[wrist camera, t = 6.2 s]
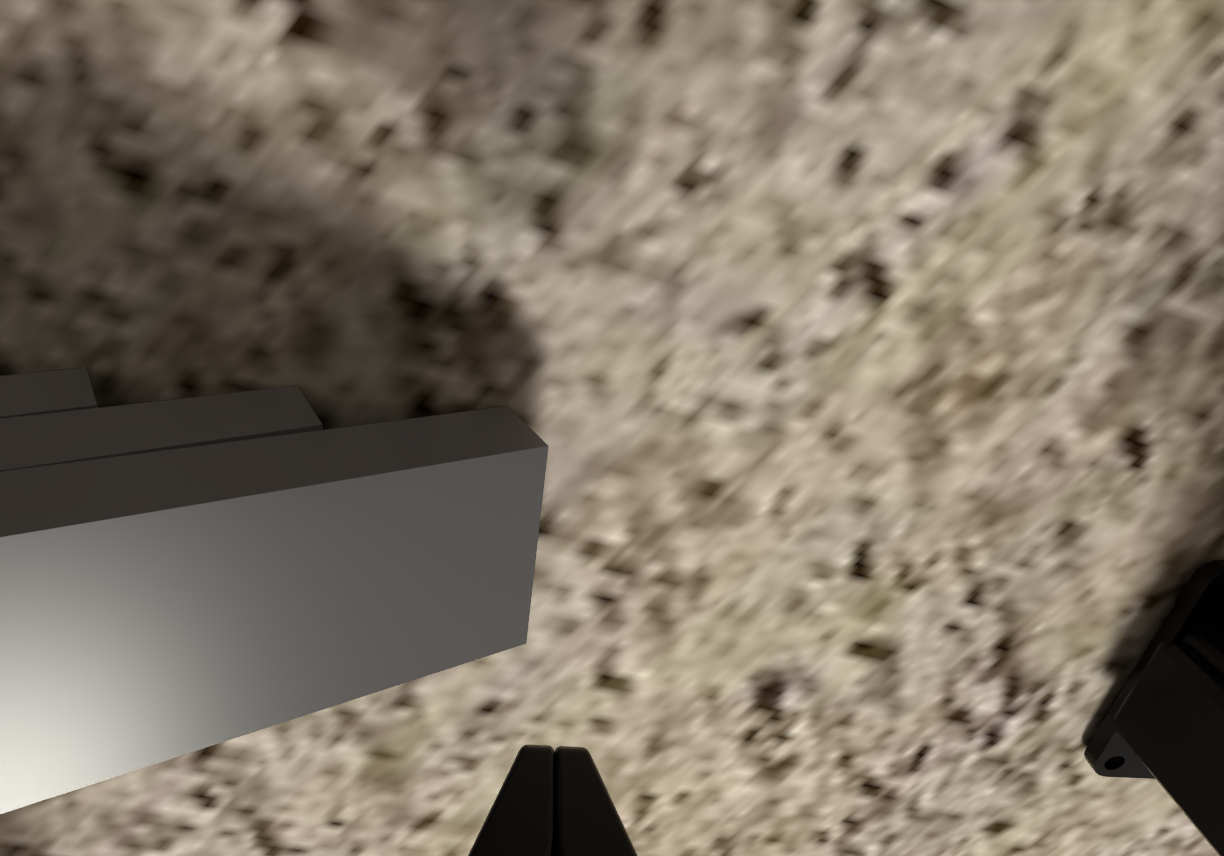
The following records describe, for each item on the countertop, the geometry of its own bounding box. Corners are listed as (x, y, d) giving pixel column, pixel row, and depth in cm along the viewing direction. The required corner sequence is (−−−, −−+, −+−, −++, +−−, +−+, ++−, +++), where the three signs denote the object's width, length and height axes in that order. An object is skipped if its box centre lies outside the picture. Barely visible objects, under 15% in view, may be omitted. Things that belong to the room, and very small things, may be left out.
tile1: (548, 445, 12) (-98, 553, 8) (526, 643, 14) (-2, 815, 10) (507, 406, 13) (-75, 481, 9) (492, 593, 15) (7, 727, 11)
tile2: (322, 424, 12) (-503, 542, 7) (331, 630, 14) (-318, 825, 9) (297, 385, 13) (-432, 466, 8) (308, 581, 15) (-280, 733, 10)
